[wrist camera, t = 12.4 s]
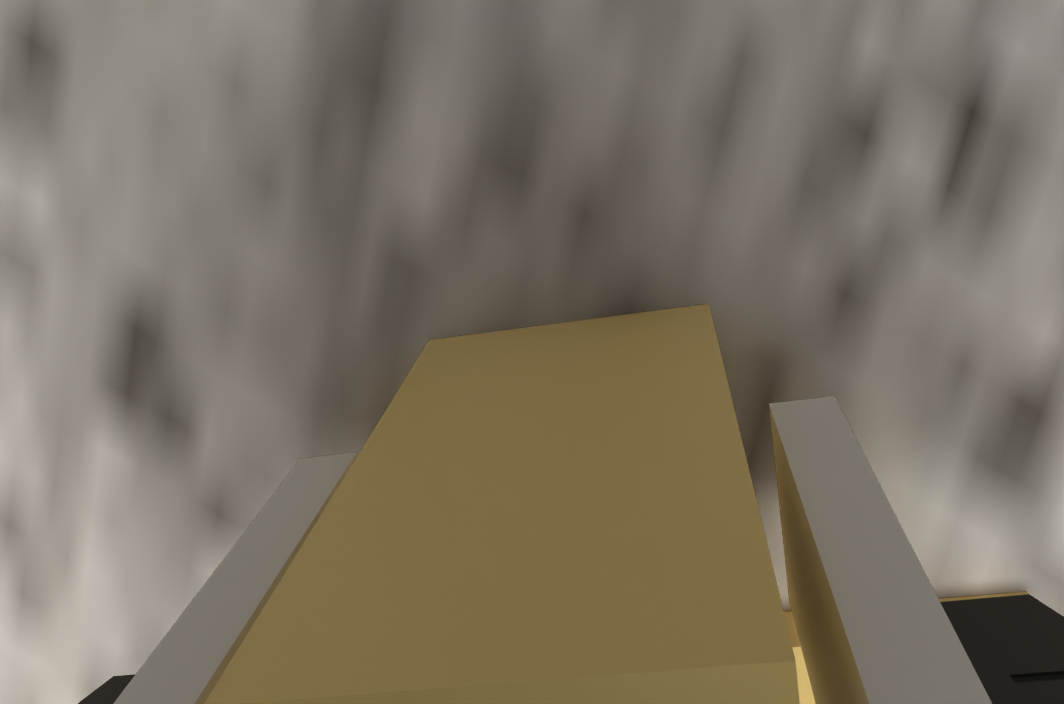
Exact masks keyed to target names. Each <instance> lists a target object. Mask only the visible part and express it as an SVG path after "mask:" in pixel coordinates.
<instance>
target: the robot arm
mask: <svg viewBox="0 0 1064 704" xmlns="http://www.w3.org/2000/svg"><path fill="white" fill-rule="evenodd" d="M769 409H770V419H771V428H772V438H773V448H774V457H775V467H776V477H777V486H778V496H779V506H780V516H781V525H782V535H783V545H784V554H785V564H786V574H787V583H788V593H789V602H790V606H791V610H792V614H793V618H794V621H795V625H796V629H797V633H798V637H799V641H800V645H801V649H802V653H803V657H804V660H805V664H806V668H807V672H808V676H809V680H810V684H811V688H812V692H813V696H814V699H815V703H816V704H1064V617H1063V616H1062V615H1060V614H1058V613H1057V612H1055V611H1054V610H1052V609H1051V608H1049V607H1048V606H1046V605H1045V604H1043V603H1042V602H1040V601H1038V600H1037V599H1035V598H1034V597H1032V596H1031V595H1029V594H1026V595H1014V596H1003V597H991V598H979V599H968V600H956V601H944V602H940V601H939V599H938V597H937V595H936V593H935V591H934V589H933V587H932V585H931V583H930V581H929V580H928V578H927V576H926V574H925V572H924V570H923V568H922V566H921V564H920V562H919V560H918V558H917V556H916V554H915V552H914V550H913V548H912V546H911V544H910V543H909V541H908V539H907V537H906V535H905V533H904V531H903V529H902V527H901V525H900V523H899V521H898V519H897V517H896V515H895V513H894V511H893V509H892V507H891V505H890V504H889V502H888V500H887V498H886V496H885V494H884V492H883V490H882V488H881V486H880V484H879V482H878V480H877V478H876V476H875V474H874V472H873V470H872V468H871V467H870V465H869V463H868V461H867V459H866V457H865V455H864V453H863V451H862V449H861V447H860V445H859V443H858V441H857V439H856V437H855V435H854V433H853V431H852V429H851V428H850V426H849V424H848V422H847V420H846V418H845V416H844V414H843V412H842V410H841V408H840V406H839V404H838V402H837V400H836V398H835V396H830V397H821V398H813V399H804V400H796V401H787V402H778V403H770V404H769ZM357 456H358V454H357V452H352V453H343V454H335V455H326V456H318V457H309V458H301V459H300V460H299V461H298V462H297V464H296V465H295V466H294V468H293V469H292V470H291V472H290V473H289V474H288V476H287V477H286V478H285V479H284V481H283V482H282V483H281V485H280V486H279V487H278V489H277V490H276V491H275V493H274V494H273V495H272V496H271V498H270V499H269V500H268V502H267V503H266V504H265V506H264V507H263V508H262V510H261V511H260V512H259V513H258V515H257V516H256V517H255V519H254V520H253V521H252V523H251V524H250V525H249V527H248V528H247V529H246V531H245V532H244V533H243V534H242V536H241V537H240V538H239V540H238V541H237V542H236V544H235V545H234V546H233V548H232V549H231V550H230V551H229V553H228V554H227V555H226V557H225V558H224V559H223V561H222V562H221V563H220V565H219V566H218V567H217V568H216V570H215V571H214V572H213V574H212V575H211V576H210V578H209V579H208V580H207V582H206V583H205V584H204V586H203V587H202V588H201V589H200V591H199V592H198V593H197V595H196V596H195V597H194V599H193V600H192V601H191V603H190V604H189V605H188V606H187V608H186V609H185V610H184V612H183V613H182V614H181V616H180V617H179V618H178V620H177V621H176V622H175V623H174V625H173V626H172V627H171V629H170V630H169V631H168V633H167V634H166V635H165V637H164V638H163V639H162V641H161V642H160V643H159V644H158V646H157V647H156V648H155V650H154V651H153V652H152V654H151V655H150V656H149V658H148V659H147V660H146V661H145V663H144V664H143V665H142V667H141V668H140V669H139V671H138V672H137V673H136V674H135V675H124V676H113V677H112V678H111V679H109V680H108V681H107V682H105V683H104V684H103V685H102V686H100V687H99V688H98V689H96V690H95V691H94V692H92V693H91V694H90V695H88V696H87V697H86V698H84V699H83V700H82V701H81V702H79V703H78V704H204V703H205V702H206V700H207V698H208V697H209V695H210V694H211V692H212V690H213V689H214V687H215V685H216V684H217V682H218V681H219V679H220V677H221V676H222V674H223V673H224V671H225V669H226V668H227V666H228V664H229V663H230V661H231V660H232V658H233V656H234V655H235V653H236V652H237V650H238V648H239V647H240V645H241V643H242V642H243V640H244V639H245V637H246V635H247V634H248V632H249V630H250V629H251V627H252V626H253V624H254V622H255V621H256V619H257V618H258V616H259V614H260V613H261V611H262V609H263V608H264V606H265V605H266V603H267V601H268V600H269V598H270V597H271V595H272V593H273V592H274V590H275V588H276V587H277V585H278V584H279V582H280V580H281V579H282V577H283V575H284V574H285V572H286V571H287V569H288V567H289V566H290V564H291V563H292V561H293V559H294V558H295V556H296V554H297V553H298V551H299V550H300V548H301V546H302V545H303V543H304V542H305V540H306V538H307V537H308V535H309V533H310V532H311V530H312V529H313V527H314V525H315V524H316V522H317V521H318V519H319V517H320V516H321V514H322V512H323V511H324V509H325V508H326V506H327V504H328V503H329V501H330V499H331V498H332V496H333V495H334V493H335V491H336V490H337V488H338V487H339V485H340V483H341V482H342V480H343V478H344V477H345V475H346V474H347V472H348V470H349V469H350V467H351V466H352V464H353V462H354V461H355V459H356V457H357Z"/></svg>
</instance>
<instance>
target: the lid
mask: <svg viewBox="0 0 1064 704" xmlns="http://www.w3.org/2000/svg"><path fill="white" fill-rule="evenodd" d="M1026 594H1028V592H1027V591H1026V592H1014V593H1002V594H990V595H978V596H966V597H954V598H942V599H939V601H940V602H944V601H956V600H968V599H979V598H991V597H1003V596H1014V595H1026ZM204 704H816V703H815V699H814V696H813V692H812V688H811V684H810V680H809V676H808V672H807V668H806V664H805V660H804V657H803V653H802V649H801V645H800V641H799V637H798V633H797V629H796V625H795V621H794V618H793V614H792V611H786V612H784V611H783V607H782V603H781V599H780V594H779V590H778V586H777V582H776V578H775V574H774V570H773V566H772V562H771V557H770V553H769V549H768V545H767V541H766V537H765V533H764V529H763V525H762V520H761V516H760V512H759V508H758V504H757V500H756V496H755V492H754V488H753V483H752V479H751V475H750V471H749V467H748V463H747V459H746V455H745V451H744V446H743V442H742V438H741V434H740V430H739V426H738V422H737V418H736V413H735V409H734V405H733V401H732V397H731V393H730V389H729V385H728V381H727V376H726V372H725V368H724V364H723V360H722V356H721V352H720V348H719V344H718V339H717V335H716V331H715V327H714V323H713V319H712V315H711V311H710V307H709V304H703V305H695V306H687V307H680V308H672V309H664V310H657V311H649V312H641V313H634V314H626V315H618V316H610V317H603V318H595V319H587V320H580V321H572V322H564V323H556V324H549V325H541V326H533V327H526V328H518V329H510V330H503V331H495V332H487V333H479V334H472V335H464V336H456V337H449V338H441V339H433V340H429V341H428V343H427V344H426V346H425V347H424V349H423V351H422V352H421V354H420V356H419V357H418V359H417V360H416V362H415V364H414V365H413V367H412V368H411V370H410V372H409V373H408V375H407V377H406V378H405V380H404V381H403V383H402V385H401V386H400V388H399V389H398V391H397V393H396V394H395V396H394V398H393V399H392V401H391V402H390V404H389V406H388V407H387V409H386V411H385V412H384V414H383V415H382V417H381V419H380V420H379V422H378V423H377V425H376V427H375V428H374V430H373V432H372V433H371V435H370V436H369V438H368V440H367V441H366V443H365V444H364V446H363V448H362V449H361V451H360V453H359V454H358V456H357V457H356V459H355V461H354V462H353V464H352V466H351V467H350V469H349V470H348V472H347V474H346V475H345V477H344V478H343V480H342V482H341V483H340V485H339V487H338V488H337V490H336V491H335V493H334V495H333V496H332V498H331V499H330V501H329V503H328V504H327V506H326V508H325V509H324V511H323V512H322V514H321V516H320V517H319V519H318V521H317V522H316V524H315V525H314V527H313V529H312V530H311V532H310V533H309V535H308V537H307V538H306V540H305V542H304V543H303V545H302V546H301V548H300V550H299V551H298V553H297V554H296V556H295V558H294V559H293V561H292V563H291V564H290V566H289V567H288V569H287V571H286V572H285V574H284V575H283V577H282V579H281V580H280V582H279V584H278V585H277V587H276V588H275V590H274V592H273V593H272V595H271V597H270V598H269V600H268V601H267V603H266V605H265V606H264V608H263V609H262V611H261V613H260V614H259V616H258V618H257V619H256V621H255V622H254V624H253V626H252V627H251V629H250V630H249V632H248V634H247V635H246V637H245V639H244V640H243V642H242V643H241V645H240V647H239V648H238V650H237V652H236V653H235V655H234V656H233V658H232V660H231V661H230V663H229V664H228V666H227V668H226V669H225V671H224V673H223V674H222V676H221V677H220V679H219V681H218V682H217V684H216V685H215V687H214V689H213V690H212V692H211V694H210V695H209V697H208V698H207V700H206V702H205V703H204Z"/></svg>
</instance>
